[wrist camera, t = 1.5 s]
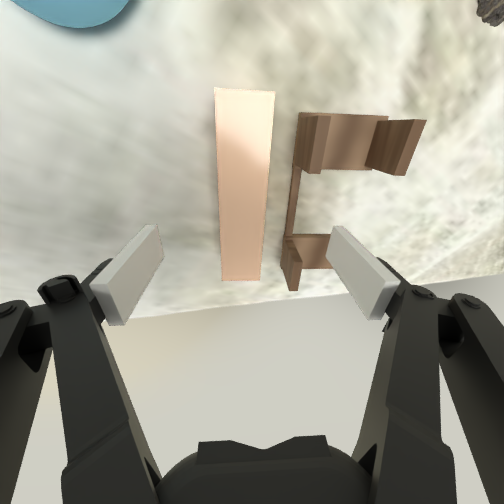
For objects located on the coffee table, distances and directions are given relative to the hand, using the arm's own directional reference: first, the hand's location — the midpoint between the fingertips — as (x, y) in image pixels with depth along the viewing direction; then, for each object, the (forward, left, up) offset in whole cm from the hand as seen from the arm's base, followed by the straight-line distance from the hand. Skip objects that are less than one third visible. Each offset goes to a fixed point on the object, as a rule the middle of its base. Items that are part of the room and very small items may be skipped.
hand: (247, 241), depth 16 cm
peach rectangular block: (0, 0, -16) cm, 16 cm away
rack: (+12, -2, -15) cm, 19 cm away
